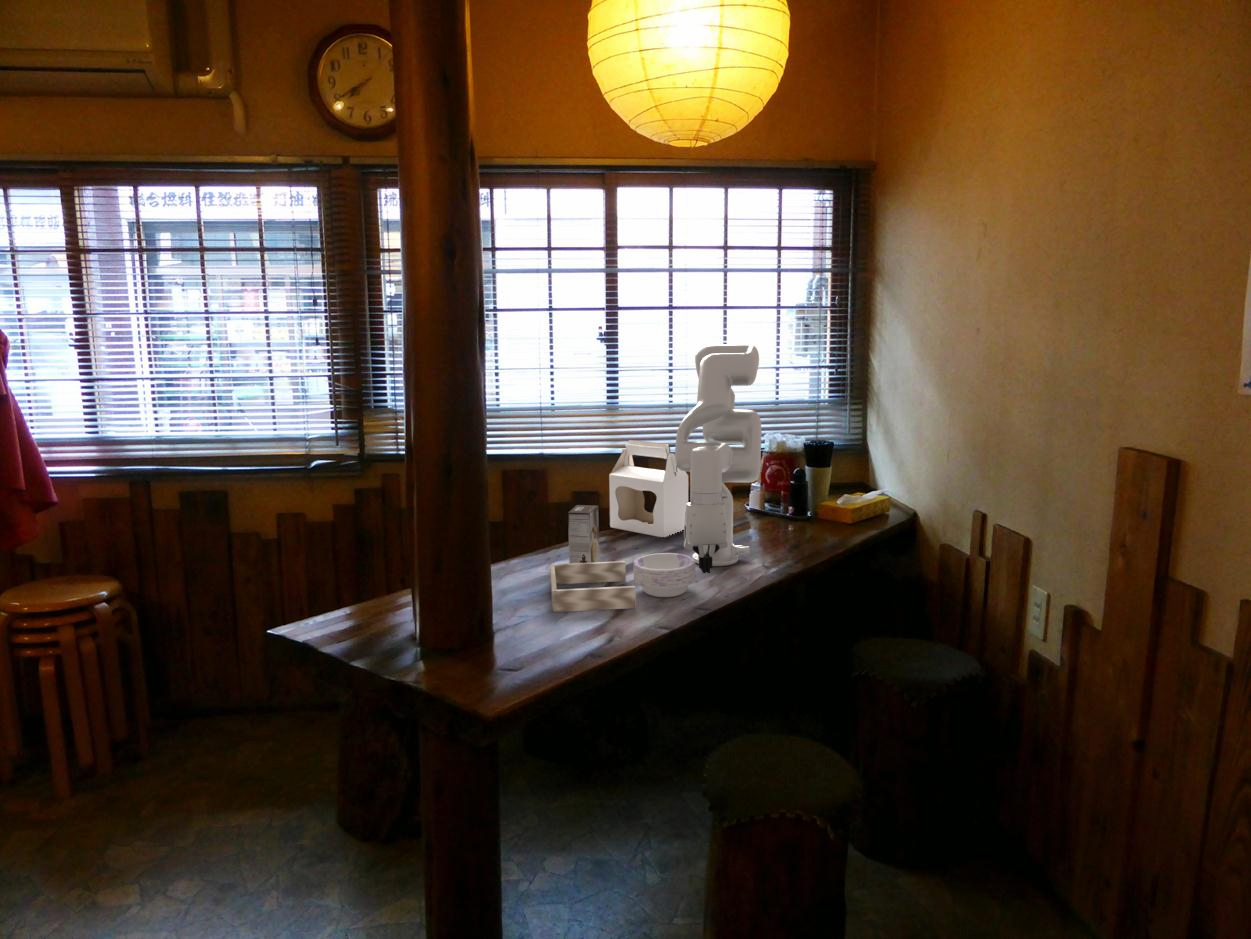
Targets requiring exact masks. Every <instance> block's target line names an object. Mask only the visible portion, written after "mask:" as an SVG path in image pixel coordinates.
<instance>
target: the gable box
mask: <svg viewBox="0 0 1251 939" xmlns="http://www.w3.org/2000/svg"><path fill="white" fill-rule="evenodd" d="M624 446H625V448H621V453H620V455H619V457H618V458H617V461H616V462H615V464H614V466H613V467H612V469H611V471H610V473H609V475H608V476H609V477H608V478H609V479H608V480H609V482H608V483H609V489H608V490H609V526H610V528H612V529H617V530H622V531H628V532H631V533H632V532H633V533H638V534H641V535H642V534H643V535H647V536H648V535H649V536H653V537H657V538H663V537H664V538H666V537H670V536H672V534H673V535H675V533H676V534H678V533H677V532H679V533H681V532H683V531H682V530H684V520H685V511H686V506H687V503H689V474H688V473H687V471H681V470H680V469H678V468H677V466H676V463H675V453H672V452H671V447H670V445H669V443H663V442H653V441H645V440H633V439H629V440H628V441H627V443H624ZM633 456H640V457H641V456H642V457H651V458H659V459H664V460H666V461H665V467H664V468H665V469H658V468H649V467H641V466H635V463H634V459H633ZM644 491H646V492H652V493H654V495H655V497H656V501H655V504H654V507H653V509H652V511H651V512H649V511H647V510H646V509H645V502H646V501H645V500H646V499H645V495H644ZM642 521H650V522H653V524H648V522H642ZM680 531H681V532H680ZM669 535H670V536H669Z"/></svg>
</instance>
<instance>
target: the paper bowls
mask: <svg viewBox="0 0 1251 939" xmlns="http://www.w3.org/2000/svg"><path fill="white" fill-rule="evenodd" d="M632 565H633V566H632V567H633V568H632V569H633V570H632V571H633V582H634V583H635V584H637V585H638V586H640V587H641V589H642V590H643V592H644V593H646V594H647V595H648V596H651V597H656V598H657V597H658V598H673V597H678V596H680V595H683V594H684V593H685V592H686V591H687V589H688V587H689V586H691V585H692V584H693V583H695V582H696V579H697V570H696V568H697V563H696V562H695V560H694V559H693V558H692V556H690V555H686V554H684V553H683V554H682V553H675V552H660V553H651V554H646V555H642V556H639V557H637V558H636V559H635V560H634V561H633V563H632Z"/></svg>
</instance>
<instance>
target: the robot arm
mask: <svg viewBox="0 0 1251 939" xmlns="http://www.w3.org/2000/svg"><path fill="white" fill-rule="evenodd" d="M694 357H695V358H694V359H695V360H694V362H695V363H694V364H695V369H696V374H697V377H698V386H697V387H698V388H697V395H696V396H697V397H696V405H695V406H694V407H693V408H692V409H691V410H690V411H689V412H688V413H687V414H686V415H685V417H683V419H682V420H681V422H680V424H679V425H678V428H677V432H676V437H675V438H676V439H675V448H674V454H675V463H676V466H677V468H678V469H680V470H681V471H686V473H687V472H689V473H690V474H689V475H690V476H689V478H690V483H689V484H690V485H689V486H690V488H689V491H690V492H689V493H690V494H689V495H690V496H689V497H690V498H689V500H690V502H689V501H688V503H687V506H686V511H685V520H684V531H683V538H684V539H683V540H684V543H683V548H684V549H685V550H689V551H694V553H693V554H692V555H691V557H692V558H693V559H694V560H695V562H696V564H698V569H699V570H700V571H701V572H702V574H710V573H711V570H712V569H713V567H725V566H730V565H733V564H736V563H737V562H738V561H739V554H750V553H751V552H750V551H751V548H750V546H744V545H743V544H740V545H738V544H737V545H735V543H733V541H734V539H733V538H734V534H733V530H734V498H733V495H732V493H731V491H730V489H728V487H727V486H726V484H725V483H743V484H745V483H754V482H756V481H758V479H759V477H760V473H761V458H762V456H761V455H762V453H761V452H762V420H761V417H760V415H759V414H758V412H757V411H755V410H752V409H735V402H736V394H735V392H734V391H733V389H732V387H734V386H735V387H736V386H740V387H742V386H743V387H744V386H745V387H747V386H748V387H749V386H752V385H753V383H755V381H756V378H757V374H758V369H759V366H760V365H759V364H760V354H759V351H758V349H757V347H756V346H755V345H753V344H709V345H704V346H703V345H702V346H701V347H699V348H698V349H697V350H696V352H695V356H694ZM700 427H702V435H703V436H702V437H703V439H704V440H705V441H689V437H690V435H691V434H692V432H694V431H696V430H697V429H698V428H700ZM730 445H741V446H730Z"/></svg>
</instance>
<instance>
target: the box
mask: <svg viewBox="0 0 1251 939" xmlns="http://www.w3.org/2000/svg"><path fill="white" fill-rule="evenodd" d="M549 566H550V569H549V570H550V589H551V590H550V591H551V603H552V613H565V612H582V611H584V612H585V611H587V612H588V611H603V610H605V611H606V610H620V609H622V610H623V609H624V610H625V609H636V604H637V603H636V586H635V585H626V586H625V585H624V586H607V587H606V586H604V587H587V588H586V587H585V588H584V587H582V588H563V589H557V585H564V584H565V585H570V584H571V585H573V584H589V583H591V584H592V583H593V584H594V583H611V582H614V583H615V582H626V577H627V576H626V575H627V574H626V571H627V569H626V566H627V565H626V561H625V560H620V561H619V560H617V561H616V560H615V561H600V562H593V563H570V564H569V563H558V564H557V563H553V564H552V563H551V564H550V565H549Z"/></svg>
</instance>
